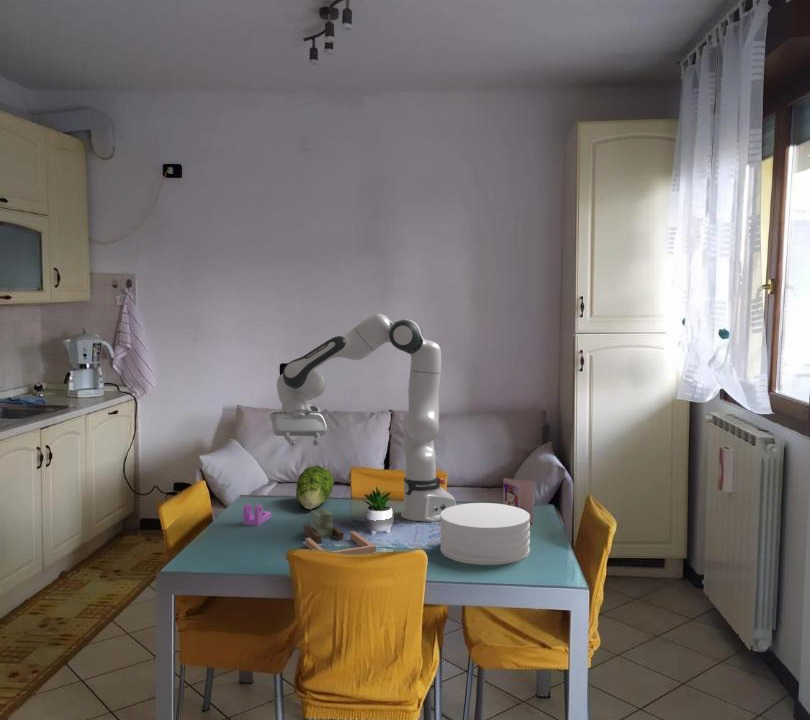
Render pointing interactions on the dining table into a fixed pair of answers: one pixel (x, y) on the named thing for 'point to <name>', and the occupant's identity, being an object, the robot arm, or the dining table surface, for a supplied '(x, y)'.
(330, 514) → the sage block
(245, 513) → the bracket
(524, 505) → the greeting card
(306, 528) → the walnut chute
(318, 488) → the lettuce
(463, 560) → the plate stack
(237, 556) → the dining table surface
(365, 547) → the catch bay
